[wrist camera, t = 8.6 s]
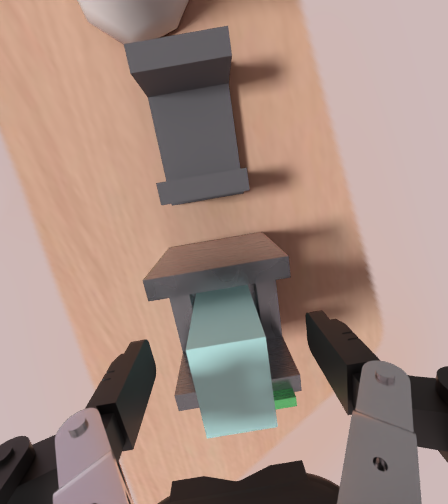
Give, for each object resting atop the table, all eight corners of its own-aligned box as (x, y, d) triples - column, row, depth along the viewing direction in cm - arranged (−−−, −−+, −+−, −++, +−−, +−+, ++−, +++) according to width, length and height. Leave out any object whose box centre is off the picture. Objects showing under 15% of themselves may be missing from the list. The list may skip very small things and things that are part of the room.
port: (168, 247, 17) (138, 285, 10) (261, 231, 17) (292, 259, 10) (191, 342, 19) (178, 425, 13) (273, 328, 19) (305, 404, 12)
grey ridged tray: (144, 75, 14) (122, 39, 11) (224, 61, 14) (227, 20, 11) (173, 205, 16) (162, 209, 13) (242, 193, 16) (250, 193, 13)
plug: (198, 274, 16) (184, 350, 9) (242, 267, 16) (267, 336, 9) (210, 328, 17) (206, 438, 10) (250, 321, 17) (278, 426, 10)
